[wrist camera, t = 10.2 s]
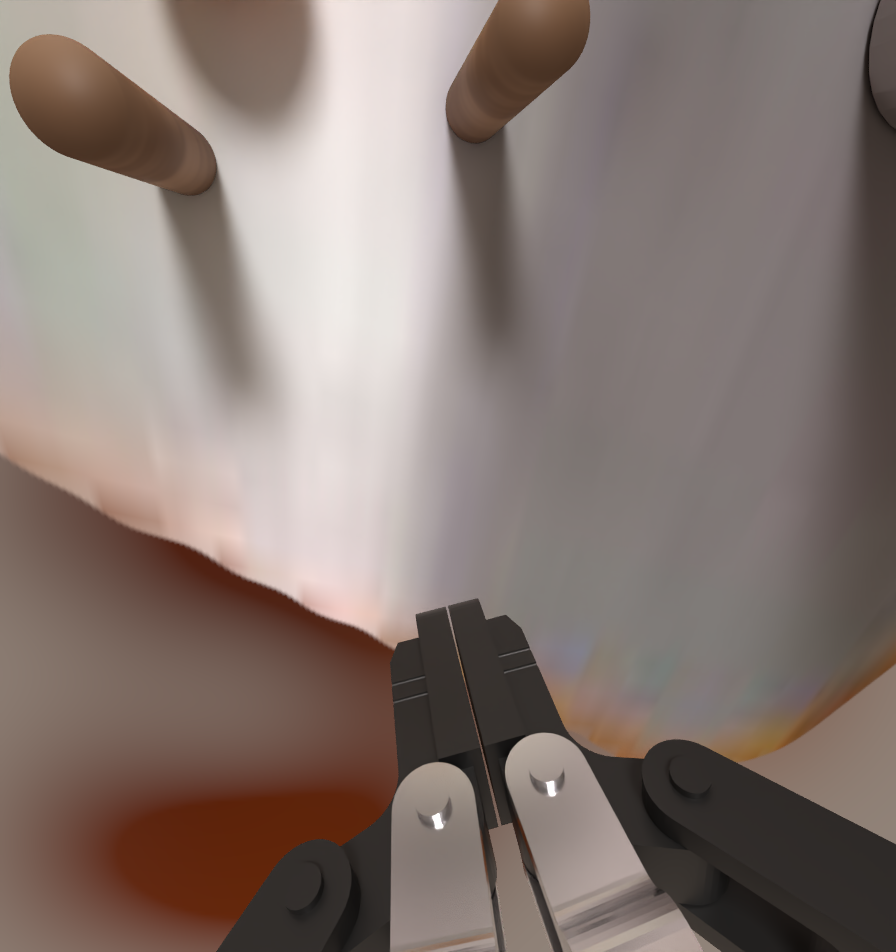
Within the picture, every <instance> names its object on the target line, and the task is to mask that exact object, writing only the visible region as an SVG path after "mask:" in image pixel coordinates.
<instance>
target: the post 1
mask: <svg viewBox="0 0 896 952" xmlns="http://www.w3.org/2000/svg"><path fill="white" fill-rule="evenodd" d="M9 79H10V89H11V94H12V97H13V101H14V103H15V105H16V108H17V110H18V112H19V114H20V116H21V117H22V119H23V121H24V122H25V124H26V125H27V126H28V128H29V129H30V130H31V131H32V132H33V133H34V134H35V136H36V137H37V138H38V139H40V140H41V141H42V142H43V143H44V144H46V145H47V146H48V147H50V148H51V149H53V150H55V151H56V152H58V153H60V154H62V155H65V156H67V157H70V158H73V159H76V160H79V161H82V162H85V163H89V164H92V165H95V166H98V167H101V168H104V169H107V170H110V171H113V172H116V173H119V174H122V175H125V176H128V177H131V178H134V179H137V180H140V181H143V182H146V183H149V184H152V185H155V186H158V187H161V188H164V189H167V190H170V191H174V192H177V193H180V194H183V195H197V194H201V193H203V192H204V191H206V190H207V189H208V188H209V187H210V186H211V185H212V183H213V181H214V179H215V175H216V159H215V155H214V152H213V150H212V148H211V146H210V144H209V143H208V141H207V140H206V139H205V137H204V136H203V135H202V134H201V133H199V132H198V131H197V130H196V129H194V128H193V127H192V126H190V125H189V124H188V123H186V122H185V121H184V120H183V119H181V118H180V117H179V116H177V115H176V114H175V113H173V112H172V111H171V110H169V109H168V108H167V107H165V106H164V105H163V104H161V103H160V102H159V101H157V100H156V99H155V98H153V97H152V96H151V95H149V94H148V93H147V92H145V91H144V90H143V89H142V88H140V87H139V86H138V85H136V84H135V83H134V82H132V81H131V80H130V79H128V78H127V77H126V76H124V75H123V74H122V73H120V72H119V71H118V70H116V69H115V68H114V67H112V66H111V65H110V64H108V63H107V62H106V61H105V60H103V59H102V58H101V57H99V56H98V55H97V54H95V53H94V52H93V51H91V50H90V49H89V48H87V47H86V46H84V45H82V44H81V43H79V42H77V41H75V40H73V39H70V38H67V37H64V36H60V35H52V34H47V35H39V36H35V37H33V38H31V39H29V40H27V41H26V42H24V43H23V44H22V45H21V46H20V47H19V48H18V50H17V51H16V53H15V55H14V57H13V59H12V62H11V66H10V74H9Z"/></svg>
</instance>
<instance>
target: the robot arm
mask: <svg viewBox="0 0 896 952" xmlns="http://www.w3.org/2000/svg"><path fill="white" fill-rule="evenodd" d="M869 76H870V82H871V88H872V94H873V97H874V99H875V102H876V104H877V107H878V109H879V112H880V113H881V114H882V116H883V117H884V118H885V120H886V121H887V122H888V124H889V125H890V126H892V127H893V128H895V129H896V0H881V1H880V4H879V7H878V10H877V14H876V17H875V20H874V25H873V30H872V36H871V42H870V48H869ZM448 608H449V612H450V617H451V621H452V625H453V630H454V634H455V639H456V643H457V647H458V652H459V656H460V660H461V665H462V669H463V673H464V677H465V681H466V685H467V689H468V693H469V697H470V701H471V705H472V709H473V713H474V716H475V721H476V725H477V729H478V733H479V737H480V741H481V745H482V749H483V753H484V757H485V761H486V765H487V769H488V773H489V777H490V781H491V785H492V789H493V793H494V796H495V801H496V804H497V809H498V813H499V817H500V820H501V824H502V825H505V824H508V823H513V827H514V830H515V834H516V838H517V842H518V845H519V849H520V853H521V858H522V863H523V868H524V871H525V875H526V878H527V881H528V883H529V887H530V890H531V893H532V896H533V898H534V901H535V904H536V907H537V910H538V913H539V916H540V919H541V922H542V925H543V928H544V931H545V934H546V937H547V940H548V943H549V946H550V949H551V952H704V951H703V949H702V948H701V946H700V944H699V942H698V940H697V939H696V937H695V935H694V933H693V932H692V930H694V931H695V932H696V933H698V934H699V935H700V936H702V937H703V938H704V939H706V940H707V941H708V942H710V943H711V944H712V945H713V946H715V947H716V948H717V949H719V950H720V951H721V952H896V844H894V843H892V842H890V841H888V840H886V839H884V838H882V837H880V836H878V835H877V834H875V833H873V832H871V831H869V830H867V829H865V828H863V827H861V826H859V825H857V824H855V823H853V822H851V821H849V820H847V819H845V818H843V817H841V816H839V815H837V814H835V813H834V812H832V811H830V810H827V809H825V808H824V807H822V806H820V805H818V804H816V803H814V802H812V801H810V800H808V799H806V798H804V797H802V796H800V795H798V794H796V793H794V792H792V791H790V790H788V789H787V788H785V787H783V786H781V785H779V784H777V783H775V782H773V781H771V780H769V779H767V778H765V777H763V776H761V775H759V774H757V773H755V772H753V771H751V770H749V769H747V768H745V767H743V766H742V765H739V764H738V763H736V762H734V761H732V760H730V759H728V758H726V757H724V756H722V755H720V754H718V753H716V752H714V751H712V750H710V749H708V748H706V747H704V746H702V745H700V744H698V743H695V742H691V741H687V740H667V741H663V742H661V743H658V744H657V745H655V746H653V747H652V748H651V749H650V750H649V751H648V753H647V754H646V756H645V758H644V759H639V758H622V757H610V756H604V755H600V754H597V753H594V752H592V751H589V750H588V749H586V748H584V747H582V746H581V745H580V744H578V743H577V742H576V741H575V740H574V739H573V738H572V737H571V736H570V735H569V734H568V732H567V731H566V729H565V727H564V725H563V723H562V721H561V718H560V716H559V714H558V712H557V709H556V707H555V705H554V702H553V700H552V698H551V695H550V693H549V691H548V689H547V686H546V684H545V682H544V679H543V677H542V675H541V672H540V670H539V668H538V666H537V664H536V661H535V659H534V656H533V654H532V652H531V650H530V648H529V645H528V642H527V640H526V638H525V636H524V633H523V631H522V629H521V628H520V627H519V626H518V625H517V624H516V623H515V622H513V621H512V620H511V619H510V618H509V617H508V616H507V615H503V616H499V617H496V618H492V619H488V620H486V619H485V616H484V613H483V610H482V608H481V605H480V602H479V599H478V598H477V599H473V600H469V601H465V602H461V603H457V604H453V605H450V606H448ZM416 622H417V628H418V635H419V638H415V639H411V640H408V641H404V642H400V643H398V644H397V647H396V649H395V652H394V654H393V657H392V660H391V662H390V666H391V680H392V692H393V702H394V718H395V730H396V744H397V755H398V756H397V757H398V770H399V778H398V784H397V788H396V792H395V794H394V797H393V799H392V801H391V803H390V804H389V806H388V808H387V809H386V810H385V812H384V813H383V814H382V816H381V817H380V818H379V819H378V820H377V821H376V822H375V823H374V824H372V825H371V826H369V827H368V828H367V829H365V830H364V831H362V832H361V833H360V834H358V835H357V836H355V837H354V838H353V839H351V840H349V841H348V842H346V843H345V844H343V845H342V846H338V845H337V844H336V843H334V842H331V841H329V840H323V839H317V840H311V841H307V842H305V843H303V844H300V845H299V846H297V847H295V848H294V849H292V850H291V851H290V852H288V853H287V854H286V855H285V856H284V857H283V858H282V859H281V860H280V861H279V862H278V863H277V865H276V866H275V867H274V869H273V870H272V871H271V873H270V875H269V876H268V877H267V879H266V880H265V882H264V883H263V885H262V886H261V887H260V889H259V890H258V892H257V893H256V895H255V896H254V898H253V899H252V901H251V902H250V903H249V905H248V906H247V908H246V909H245V911H244V912H243V914H242V915H241V917H240V918H239V919H238V921H237V922H236V924H235V925H234V927H233V928H232V930H231V931H230V933H229V934H228V935H227V937H226V938H225V940H224V941H223V943H222V944H221V946H220V947H219V948H218V950H217V951H216V952H507V947H506V941H505V934H504V927H503V921H502V915H501V908H500V902H499V895H498V888H497V882H496V878H497V868H496V862H495V857H494V853H493V848H492V844H491V840H490V835H489V831H488V830H489V829H492V828H496V827H498V824H497V819H496V814H495V810H494V806H493V801H492V797H491V793H490V788H489V784H488V779H487V775H486V770H485V766H484V762H483V758H482V753H481V749H480V744H479V740H478V736H477V732H476V728H475V724H474V720H473V716H472V712H471V708H470V704H469V700H468V696H467V692H466V687H465V683H464V679H463V675H462V671H461V667H460V663H459V659H458V655H457V651H456V647H455V643H454V639H453V635H452V631H451V627H450V623H449V619H448V615H447V610H446V607H442V608H438V609H434V610H431V611H427V612H423V613H419V614H416ZM691 929H692V930H691Z"/></svg>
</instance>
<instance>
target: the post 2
mask: <svg viewBox="0 0 896 952" xmlns="http://www.w3.org/2000/svg"><path fill="white" fill-rule="evenodd" d="M589 27H590V6H589V0H499V1H498V2H497V4H496V6H495V8H494V10H493V11H492V13H491V15H490V17H489V19H488V20H487V22H486V24H485V26H484V28H483V29H482V31H481V33H480V35H479V37H478V38H477V40H476V42H475V44H474V45H473V47H472V49H471V51H470V53H469V54H468V56H467V58H466V60H465V62H464V63H463V65H462V67H461V69H460V71H459V72H458V74H457V76H456V78H455V80H454V81H453V83H452V85H451V87H450V89H449V91H448V94H447V98H446V115H447V119H448V122H449V125H450V127H451V128H452V130H453V131H454V133H455V134H456V135H457V136H458V137H459V138H461V139H462V140H464V141H466V142H469V143H481V142H484V141H486V140H488V139H489V138H491V137H492V136H493V135H494V134H495V133H496V132H497V131H499V130H500V129H501V128H502V127H503V126H504V125H506V124H507V123H508V122H509V121H510V120H511V119H512V118H514V117H515V116H516V115H517V114H518V113H519V112H521V111H522V110H523V109H524V108H525V107H526V106H527V105H529V104H530V103H531V102H532V101H533V100H534V99H536V98H537V97H538V96H539V95H540V94H541V93H542V92H544V91H545V90H546V89H547V88H548V87H549V86H551V85H552V84H553V83H554V82H555V81H556V80H557V79H559V78H560V77H561V76H562V75H563V74H564V73H566V72H567V71H568V70H569V69H570V68H571V67H572V66H573V65H574V64H575V62H576V61H577V60H578V58H579V57H580V55H581V53H582V51H583V49H584V46H585V44H586V41H587V37H588V33H589Z"/></svg>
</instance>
